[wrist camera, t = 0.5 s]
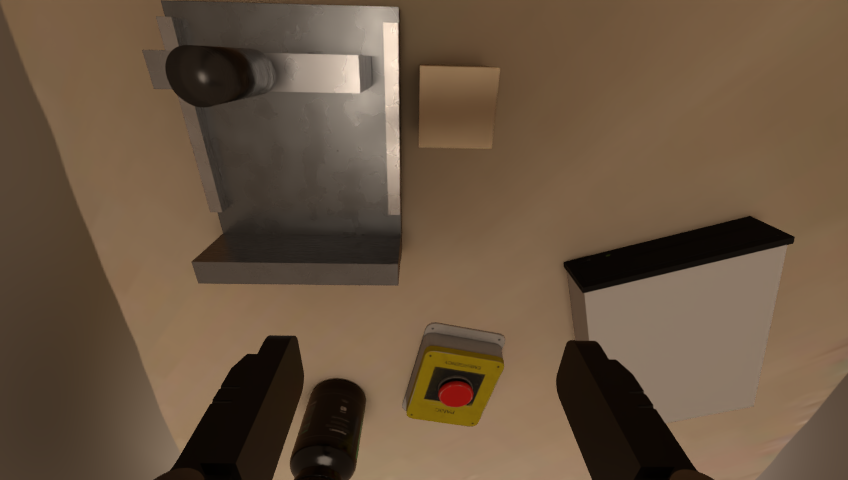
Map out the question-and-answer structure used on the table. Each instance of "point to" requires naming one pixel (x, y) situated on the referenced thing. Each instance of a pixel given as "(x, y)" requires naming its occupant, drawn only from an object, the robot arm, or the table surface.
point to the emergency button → (454, 374)
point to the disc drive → (685, 313)
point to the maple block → (457, 106)
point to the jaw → (252, 73)
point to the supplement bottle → (329, 433)
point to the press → (299, 149)
